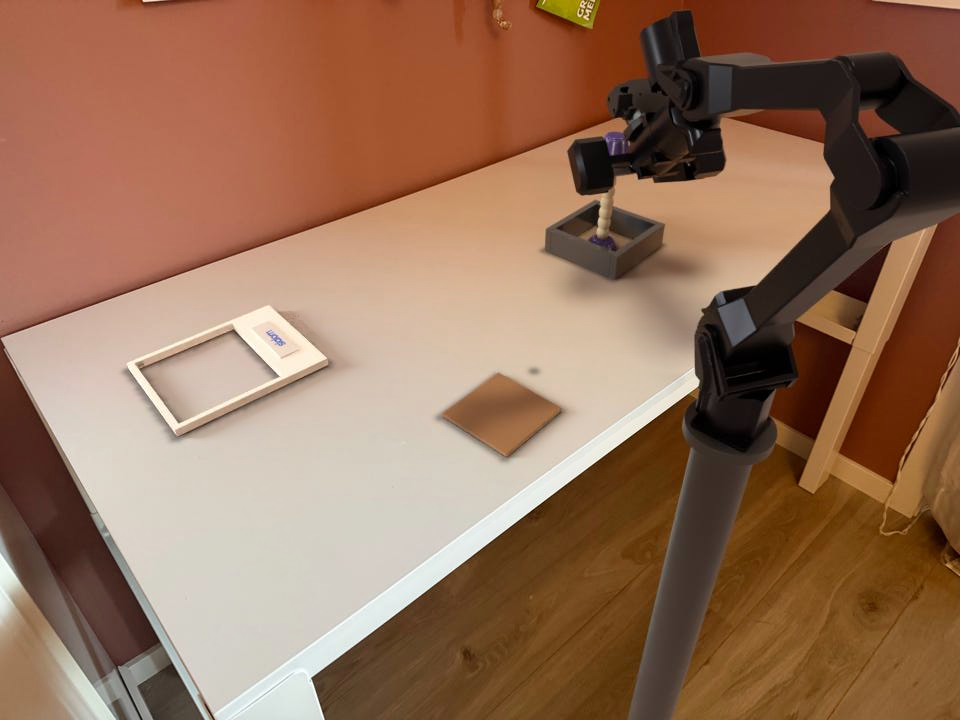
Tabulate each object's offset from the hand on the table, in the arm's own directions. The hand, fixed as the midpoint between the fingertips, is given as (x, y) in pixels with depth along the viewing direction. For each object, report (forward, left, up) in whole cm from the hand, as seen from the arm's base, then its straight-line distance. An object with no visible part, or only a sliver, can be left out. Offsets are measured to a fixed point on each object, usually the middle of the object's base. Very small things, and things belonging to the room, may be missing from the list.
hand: (621, 183), depth 93 cm
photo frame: (+20, +49, -11) cm, 54 cm away
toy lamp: (+3, -2, -12) cm, 12 cm away
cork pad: (-9, +34, -11) cm, 37 cm away
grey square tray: (+3, -2, -11) cm, 12 cm away
